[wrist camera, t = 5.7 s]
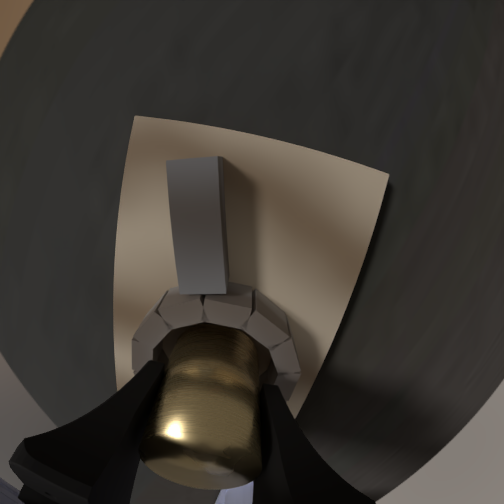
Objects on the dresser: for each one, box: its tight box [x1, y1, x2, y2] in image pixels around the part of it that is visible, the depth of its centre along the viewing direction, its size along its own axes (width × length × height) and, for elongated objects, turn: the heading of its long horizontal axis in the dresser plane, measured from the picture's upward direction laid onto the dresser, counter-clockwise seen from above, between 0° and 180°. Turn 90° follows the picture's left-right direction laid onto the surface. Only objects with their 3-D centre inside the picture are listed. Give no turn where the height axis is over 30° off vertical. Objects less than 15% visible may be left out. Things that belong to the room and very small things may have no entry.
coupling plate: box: [113, 116, 389, 419], centre depth 13 cm, size 20×11×3 cm, turn 167°
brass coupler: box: [138, 323, 262, 490], centre depth 10 cm, size 4×4×6 cm
